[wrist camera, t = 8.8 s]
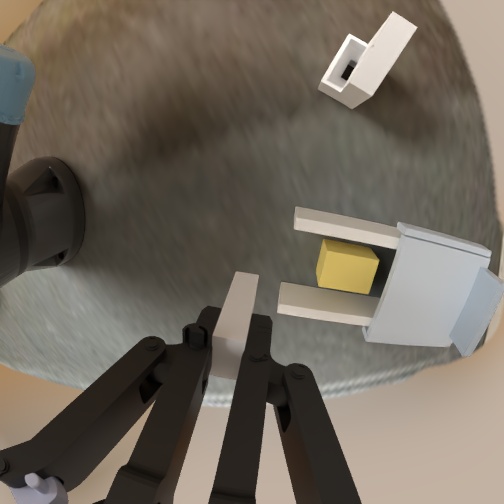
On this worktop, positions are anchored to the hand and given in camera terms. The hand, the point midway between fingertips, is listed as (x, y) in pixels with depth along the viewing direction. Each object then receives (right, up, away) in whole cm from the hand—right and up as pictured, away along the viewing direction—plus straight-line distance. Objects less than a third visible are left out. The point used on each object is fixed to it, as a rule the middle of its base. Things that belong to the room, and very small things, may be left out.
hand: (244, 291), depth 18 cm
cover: (+18, -1, +5) cm, 18 cm away
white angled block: (+9, +19, +2) cm, 21 cm away
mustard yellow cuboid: (+10, +2, +9) cm, 13 cm away
